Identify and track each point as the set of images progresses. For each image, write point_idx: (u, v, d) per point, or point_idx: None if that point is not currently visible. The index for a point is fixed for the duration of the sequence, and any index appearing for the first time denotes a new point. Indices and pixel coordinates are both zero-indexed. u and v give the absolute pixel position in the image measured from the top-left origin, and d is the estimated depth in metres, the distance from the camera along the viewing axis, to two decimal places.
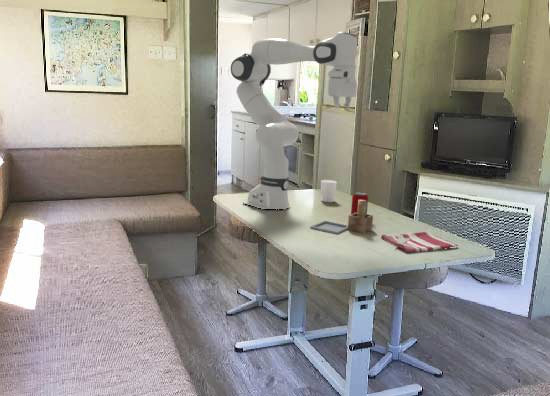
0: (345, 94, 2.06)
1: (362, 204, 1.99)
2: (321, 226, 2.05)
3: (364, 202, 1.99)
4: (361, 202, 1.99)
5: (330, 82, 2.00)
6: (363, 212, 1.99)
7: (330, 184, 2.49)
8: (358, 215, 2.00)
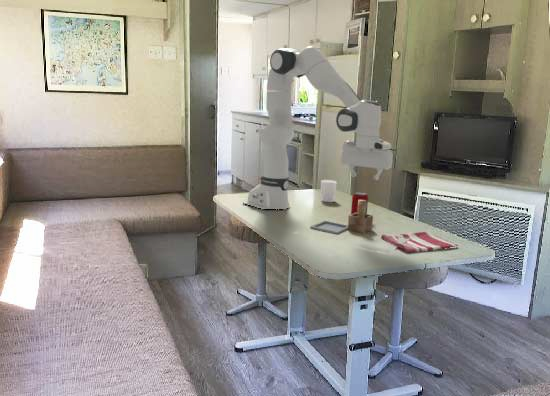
0: None
1: (362, 204, 1.99)
2: (321, 226, 2.05)
3: (364, 202, 1.99)
4: (361, 202, 1.99)
5: (388, 155, 1.90)
6: (363, 212, 1.99)
7: (330, 184, 2.49)
8: (358, 215, 2.00)
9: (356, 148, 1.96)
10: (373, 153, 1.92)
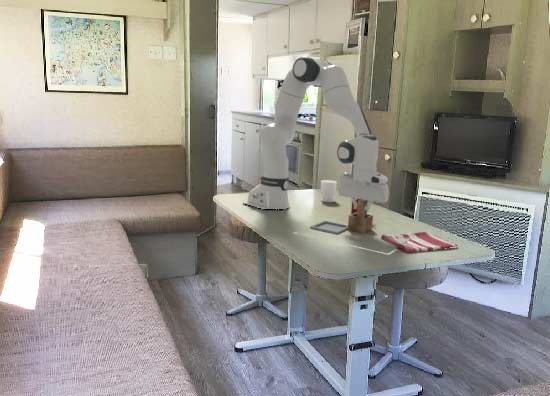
0: None
1: (362, 204, 1.99)
2: (321, 226, 2.05)
3: (364, 202, 1.99)
4: (361, 202, 1.99)
5: (385, 189, 1.92)
6: (363, 212, 1.99)
7: (330, 184, 2.49)
8: (358, 215, 2.00)
9: (353, 181, 1.99)
10: (370, 186, 1.95)
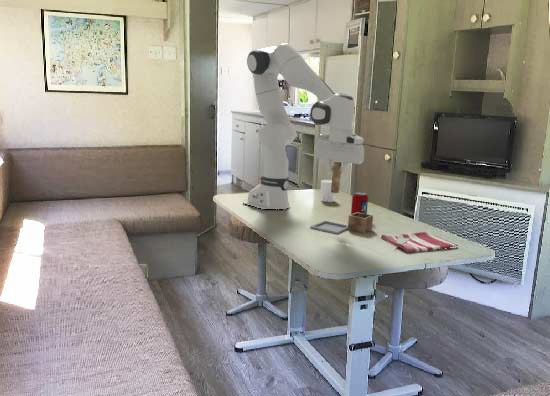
0: None
1: (337, 165, 1.96)
2: (321, 226, 2.05)
3: (339, 163, 1.96)
4: (336, 163, 1.96)
5: (360, 150, 1.90)
6: (338, 174, 1.97)
7: (330, 184, 2.49)
8: (333, 177, 1.98)
9: (329, 142, 1.96)
10: (345, 147, 1.93)
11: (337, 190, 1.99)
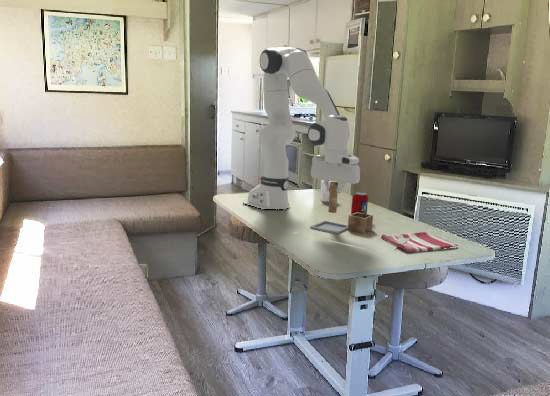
0: None
1: (334, 186, 1.97)
2: (321, 226, 2.05)
3: (336, 184, 1.97)
4: (333, 184, 1.97)
5: (356, 170, 1.91)
6: (335, 194, 1.98)
7: None
8: (330, 197, 1.99)
9: (325, 162, 1.98)
10: (341, 167, 1.94)
11: (334, 210, 2.00)
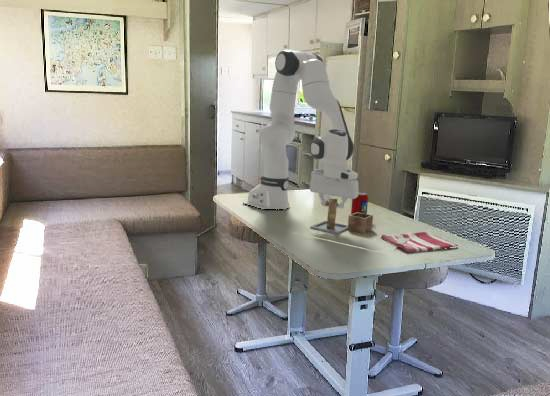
0: None
1: (333, 202, 1.99)
2: (321, 226, 2.05)
3: (335, 200, 1.99)
4: (332, 200, 1.99)
5: (354, 185, 1.93)
6: (334, 210, 2.00)
7: None
8: (329, 213, 2.01)
9: (324, 177, 1.99)
10: (340, 182, 1.95)
11: (333, 226, 2.02)
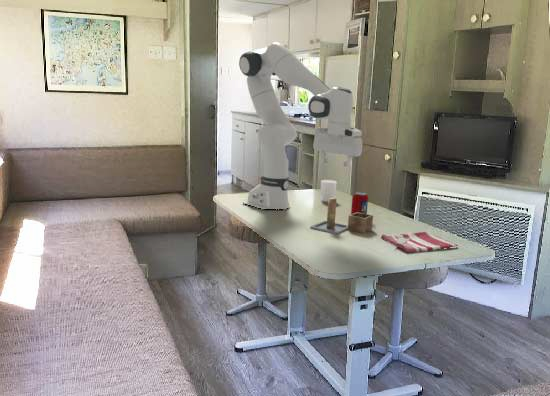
0: None
1: (332, 202, 1.99)
2: (321, 226, 2.05)
3: (334, 200, 1.99)
4: (331, 200, 1.99)
5: (358, 142, 1.93)
6: (333, 210, 2.00)
7: (330, 184, 2.49)
8: (328, 213, 2.01)
9: (328, 134, 1.99)
10: (343, 140, 1.96)
11: (333, 226, 2.02)
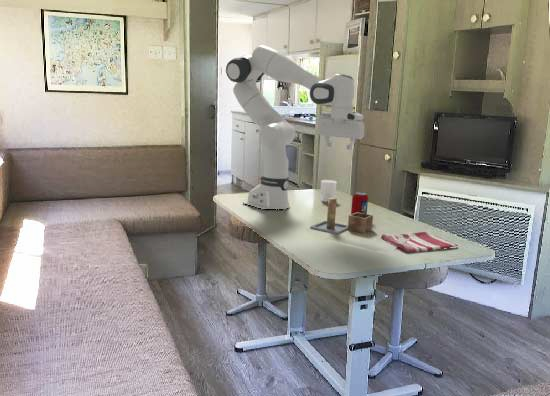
0: None
1: (332, 202, 1.99)
2: (321, 226, 2.05)
3: (334, 200, 1.99)
4: (331, 200, 1.99)
5: (360, 125, 2.03)
6: (333, 210, 2.00)
7: (330, 184, 2.49)
8: (328, 213, 2.01)
9: (331, 119, 2.09)
10: (346, 124, 2.05)
11: (333, 226, 2.02)
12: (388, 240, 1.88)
